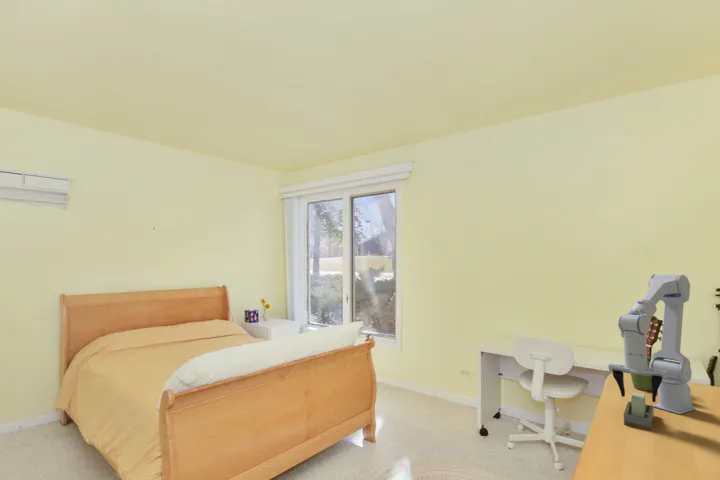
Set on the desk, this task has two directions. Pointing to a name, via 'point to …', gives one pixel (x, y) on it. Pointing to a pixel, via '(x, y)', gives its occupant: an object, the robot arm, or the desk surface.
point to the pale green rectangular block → (638, 404)
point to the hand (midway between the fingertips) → (638, 398)
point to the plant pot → (642, 380)
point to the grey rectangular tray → (637, 420)
